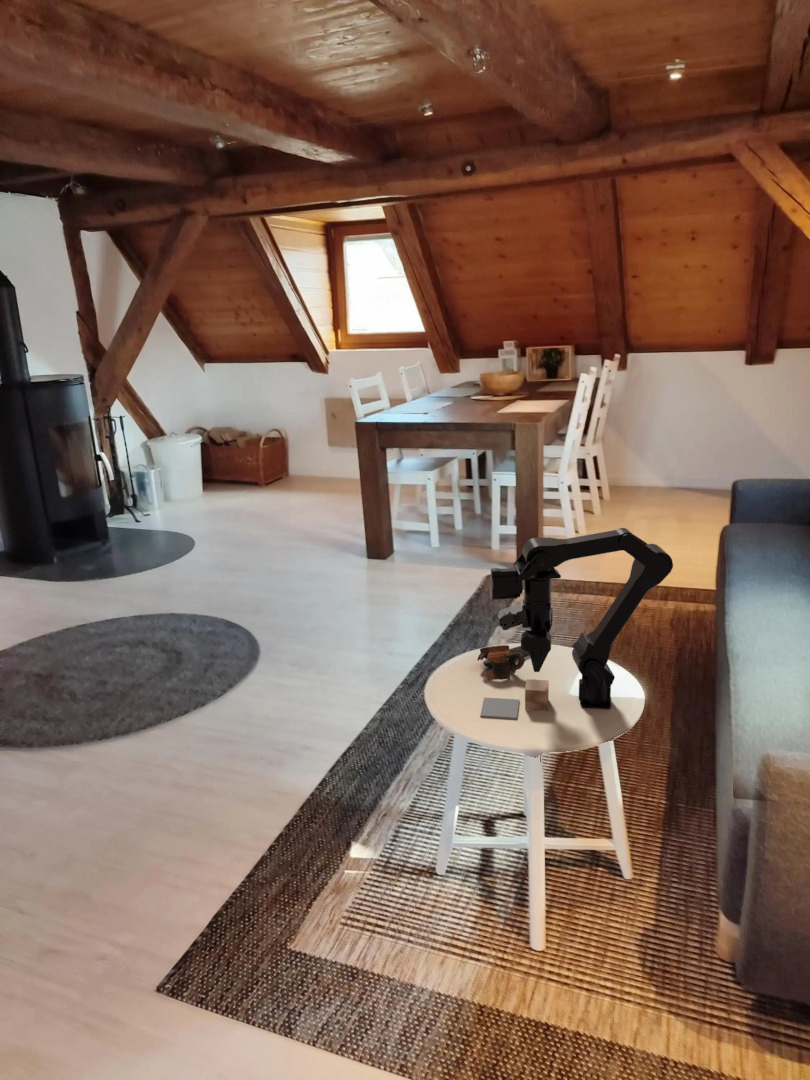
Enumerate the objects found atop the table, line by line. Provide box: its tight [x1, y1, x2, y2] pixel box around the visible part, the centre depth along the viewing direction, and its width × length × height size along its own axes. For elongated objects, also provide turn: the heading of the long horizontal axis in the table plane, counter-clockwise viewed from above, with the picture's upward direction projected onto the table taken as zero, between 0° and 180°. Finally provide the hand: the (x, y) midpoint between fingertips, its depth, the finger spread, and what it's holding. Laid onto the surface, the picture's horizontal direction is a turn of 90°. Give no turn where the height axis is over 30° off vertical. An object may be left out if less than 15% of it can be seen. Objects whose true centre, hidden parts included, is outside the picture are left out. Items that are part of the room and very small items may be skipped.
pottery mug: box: [476, 644, 526, 681], centre depth 190 cm, size 12×10×8 cm
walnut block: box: [524, 678, 550, 712], centre depth 174 cm, size 5×5×5 cm
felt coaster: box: [480, 696, 520, 720], centre depth 174 cm, size 8×8×1 cm
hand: (537, 662), depth 172 cm, fingers open, 9 cm apart
